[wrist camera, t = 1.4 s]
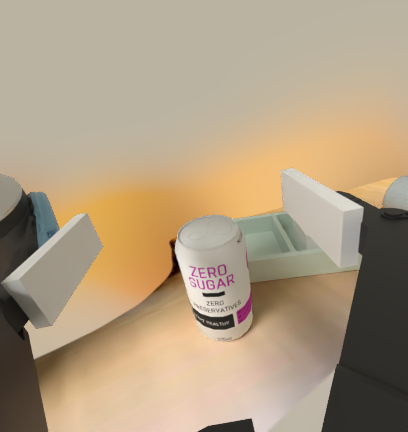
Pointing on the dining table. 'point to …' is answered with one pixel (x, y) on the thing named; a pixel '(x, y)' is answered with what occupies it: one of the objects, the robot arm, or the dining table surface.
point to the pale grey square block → (303, 238)
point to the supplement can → (216, 276)
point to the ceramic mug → (397, 194)
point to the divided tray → (281, 250)
